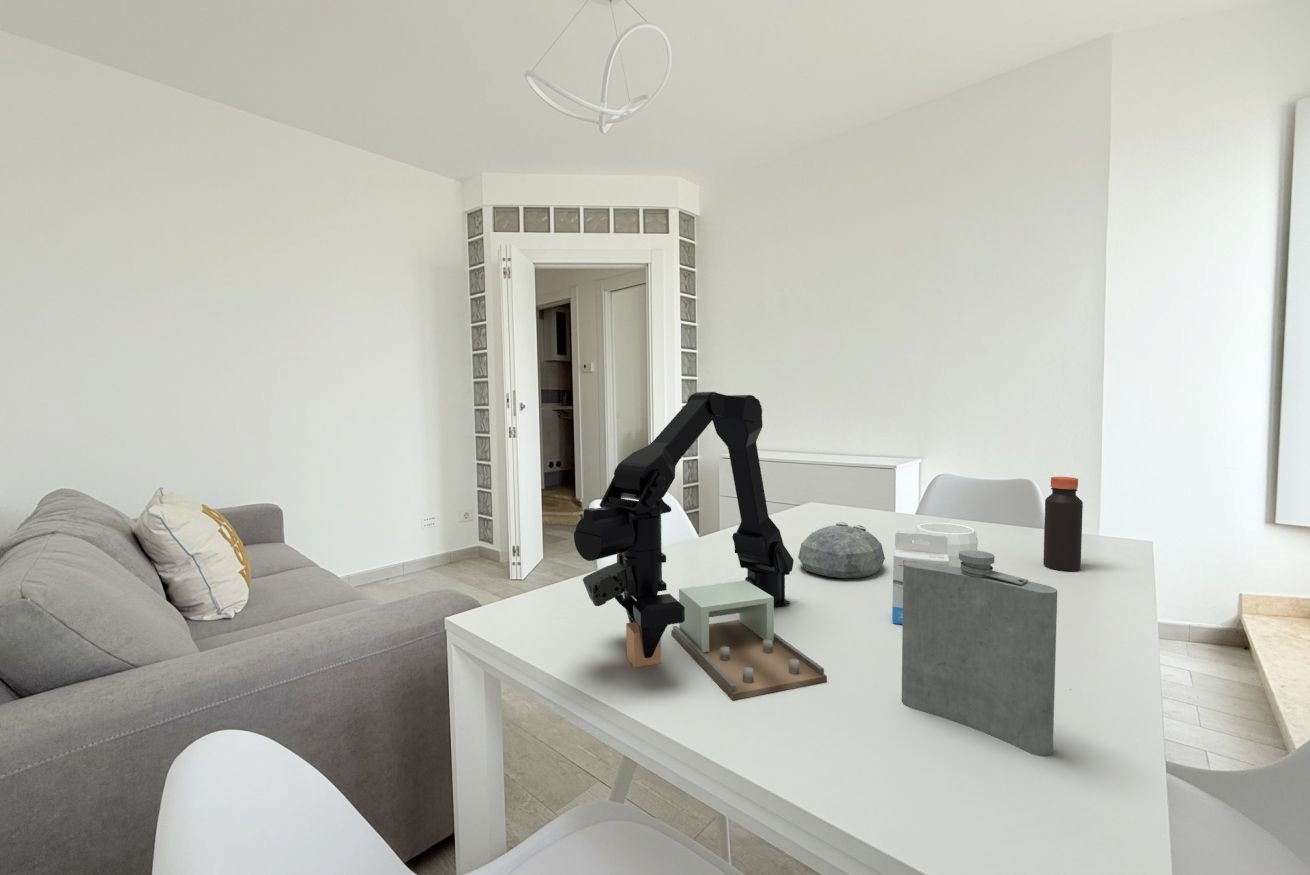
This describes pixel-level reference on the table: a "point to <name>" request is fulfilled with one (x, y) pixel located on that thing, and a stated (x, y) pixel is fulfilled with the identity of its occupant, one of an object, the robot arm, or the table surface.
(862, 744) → the table surface
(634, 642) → the block
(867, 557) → the decorative stone
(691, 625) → the housing
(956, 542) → the cup
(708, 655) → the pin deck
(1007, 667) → the hip flask
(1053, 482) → the bottle
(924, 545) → the ink box
